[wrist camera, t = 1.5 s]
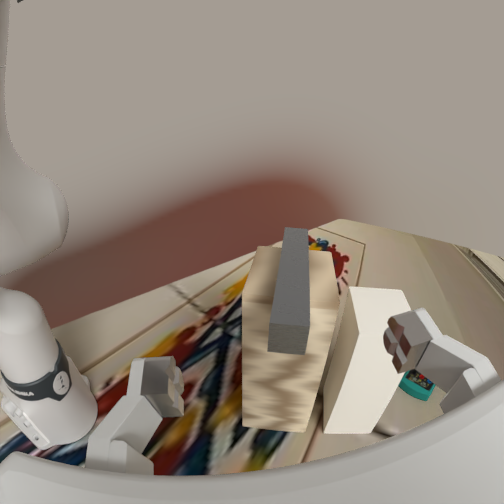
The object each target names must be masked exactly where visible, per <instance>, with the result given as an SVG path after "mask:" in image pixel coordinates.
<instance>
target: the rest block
mask: <svg viewBox="0 0 504 504" xmlns="http://www.w3.org/2000/svg"><path fill="white" fill-rule="evenodd" d="M408 311H411V309H410V307H409V304H408V302H407V300H406V298H405V296H404V294H403V292H402V290H394V289H379V288H364V287H350V286H349V290H348V294H347V299H346V304H345V308H344V312H343V317H342V321H341V325H340V329H339V333H338V337H337V341H336V345H335V349H334V352H333V356H332V360H331V363H330V367H329V371H328V374H327V377H326V381H325V384H324V388H323V433H331V434H360V433H371V431H372V430H373V428H374V426H375V425H376V423H377V422H378V420H379V418H380V417H381V415H382V413H383V412H384V410H385V408H386V407H387V405H388V403H389V401H390V399H391V398H392V396H393V394H394V392H395V390H396V389H397V387H398V385H399V383H400V381H401V379H402V377H403V375H404V373H405V372H403V373H400V374H398V373H397V371H396V369H395V367H394V365H393V363H392V358H393V356H392V355H390V354H389V353H387V351H386V349H385V346H384V343H383V335H384V331H385V330H386V329H387V328H388V327H389V326H388V324H387V322H388V319H389V318H390V317H391V316H394V315H398V314H401V313H404V312H408Z"/></svg>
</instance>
